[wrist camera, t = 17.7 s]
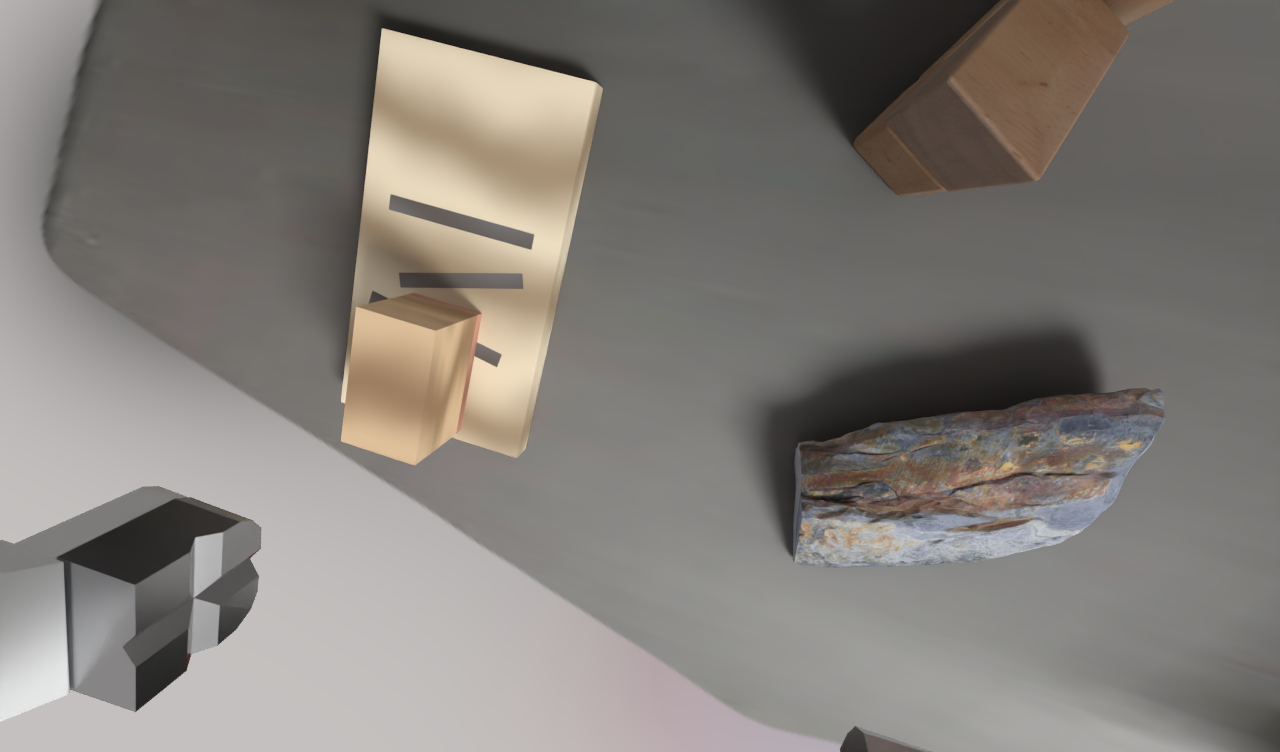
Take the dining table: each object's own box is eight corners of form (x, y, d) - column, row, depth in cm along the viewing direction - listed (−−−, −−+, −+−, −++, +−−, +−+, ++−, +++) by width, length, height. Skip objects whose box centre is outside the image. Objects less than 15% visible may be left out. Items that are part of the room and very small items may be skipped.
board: (399, 36, 30) (381, 28, 29) (603, 88, 29) (595, 82, 28) (356, 394, 36) (340, 402, 35) (525, 448, 35) (516, 458, 34)
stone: (802, 610, 33) (766, 478, 28) (792, 541, 37) (759, 416, 32) (1161, 570, 29) (1195, 407, 24) (1106, 498, 33) (1125, 346, 28)
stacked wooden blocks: (848, 143, 28) (1005, 35, 11) (1054, -53, 25) (1719, -629, 8) (900, 200, 29) (1131, 180, 11) (1110, 13, 25) (1871, -406, 8)
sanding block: (413, 292, 32) (356, 306, 28) (482, 313, 32) (435, 330, 27) (396, 409, 34) (340, 441, 30) (461, 430, 34) (414, 465, 29)
